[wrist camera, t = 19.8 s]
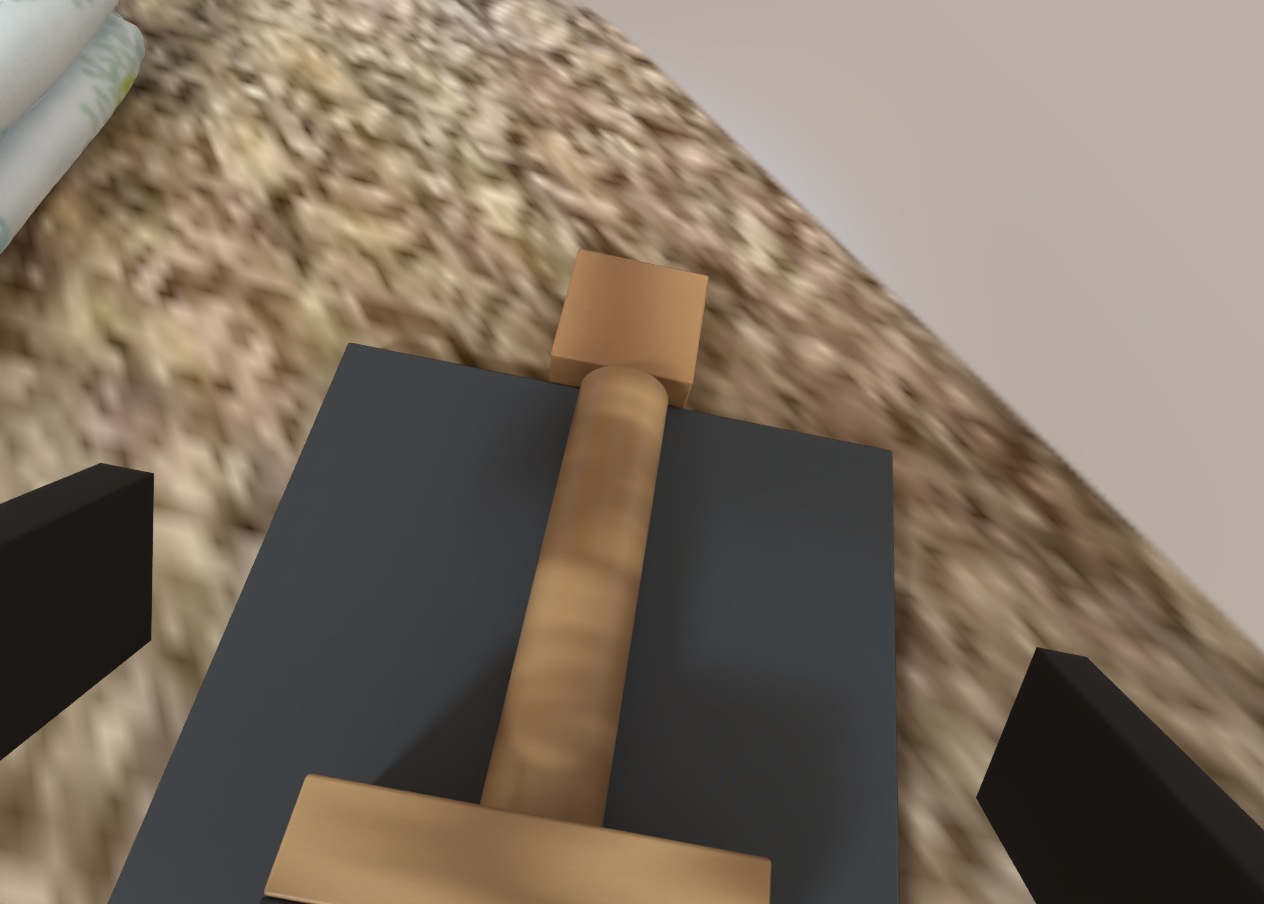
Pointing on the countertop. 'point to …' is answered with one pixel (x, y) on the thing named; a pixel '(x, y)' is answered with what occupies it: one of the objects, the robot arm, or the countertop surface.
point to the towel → (56, 92)
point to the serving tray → (492, 623)
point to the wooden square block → (630, 322)
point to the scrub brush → (536, 726)
